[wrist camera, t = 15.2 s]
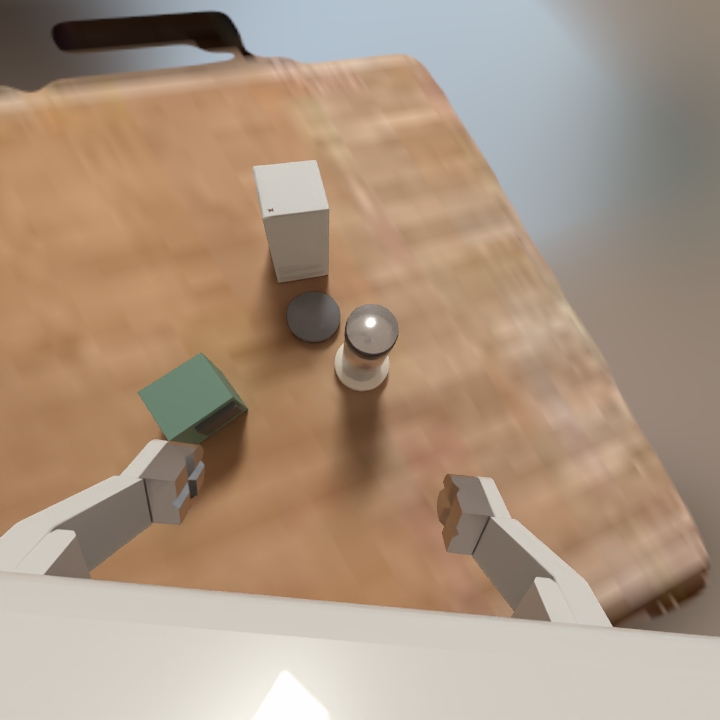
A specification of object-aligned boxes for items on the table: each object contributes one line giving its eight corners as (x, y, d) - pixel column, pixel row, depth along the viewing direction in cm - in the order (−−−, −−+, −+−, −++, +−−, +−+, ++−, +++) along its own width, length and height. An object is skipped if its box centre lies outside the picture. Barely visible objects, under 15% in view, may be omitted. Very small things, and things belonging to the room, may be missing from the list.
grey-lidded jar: (358, 390, 41) (369, 363, 31) (332, 358, 42) (334, 322, 32) (389, 366, 43) (410, 332, 32) (364, 336, 44) (376, 293, 33)
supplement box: (329, 276, 47) (331, 210, 35) (277, 284, 46) (260, 218, 34) (319, 233, 49) (317, 158, 37) (269, 240, 48) (250, 163, 36)
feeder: (198, 451, 38) (172, 446, 32) (168, 405, 40) (137, 392, 33) (251, 413, 40) (236, 402, 34) (221, 371, 41) (201, 352, 35)
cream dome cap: (357, 402, 42) (358, 400, 41) (323, 360, 43) (323, 357, 42) (398, 370, 44) (400, 367, 43) (365, 330, 45) (366, 327, 44)
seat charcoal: (308, 353, 43) (307, 349, 42) (277, 313, 45) (275, 309, 43) (350, 324, 45) (351, 320, 44) (319, 287, 46) (319, 282, 45)
